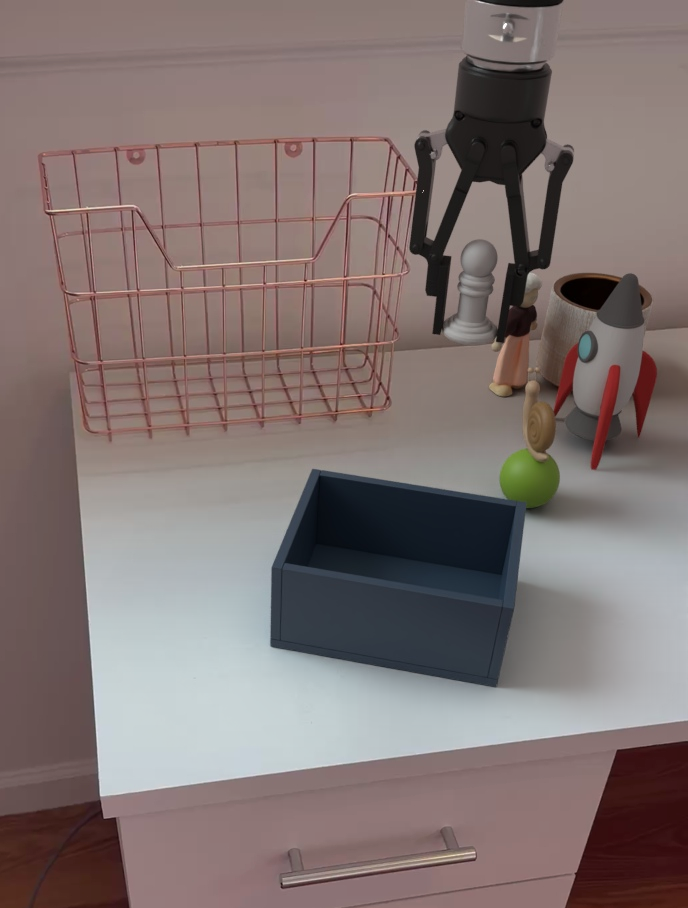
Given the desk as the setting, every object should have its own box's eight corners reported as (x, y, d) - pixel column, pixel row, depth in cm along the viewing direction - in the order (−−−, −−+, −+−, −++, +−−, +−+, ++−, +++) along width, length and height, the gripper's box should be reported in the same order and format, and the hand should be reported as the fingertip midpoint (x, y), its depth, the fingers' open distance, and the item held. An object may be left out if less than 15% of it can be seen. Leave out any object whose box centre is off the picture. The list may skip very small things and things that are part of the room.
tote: (510, 578, 87) (526, 502, 82) (496, 687, 77) (514, 608, 72) (308, 544, 90) (312, 468, 84) (269, 646, 80) (271, 567, 74)
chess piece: (464, 352, 96) (477, 256, 90) (429, 329, 99) (441, 235, 93) (508, 340, 98) (524, 245, 92) (473, 318, 101) (487, 225, 95)
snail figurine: (537, 478, 99) (562, 364, 91) (562, 517, 95) (591, 399, 87) (483, 483, 98) (504, 367, 90) (506, 522, 94) (530, 404, 85)
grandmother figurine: (511, 404, 110) (533, 289, 101) (478, 394, 111) (497, 280, 102) (537, 376, 115) (560, 264, 106) (505, 367, 116) (525, 255, 108)
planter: (543, 396, 111) (561, 312, 105) (527, 350, 119) (543, 269, 113) (642, 400, 112) (666, 316, 105) (620, 354, 120) (641, 273, 113)
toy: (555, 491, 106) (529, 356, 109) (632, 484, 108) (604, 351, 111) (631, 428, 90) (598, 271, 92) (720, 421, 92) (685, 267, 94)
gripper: (386, 59, 81) (367, 337, 97) (622, 81, 79) (564, 362, 94) (401, 39, 87) (381, 304, 102) (621, 59, 84) (567, 327, 100)
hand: (469, 331), depth 98 cm, fingers closed on chess piece, 5 cm apart
